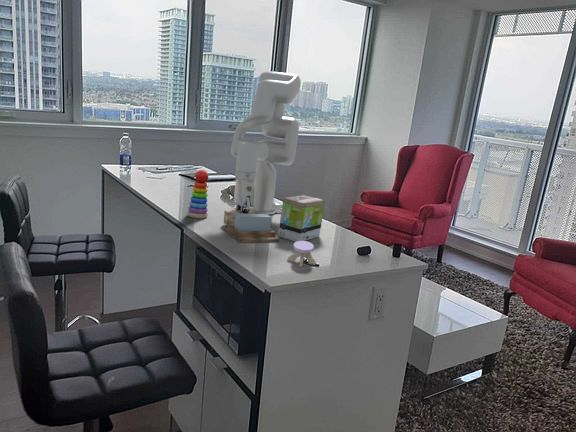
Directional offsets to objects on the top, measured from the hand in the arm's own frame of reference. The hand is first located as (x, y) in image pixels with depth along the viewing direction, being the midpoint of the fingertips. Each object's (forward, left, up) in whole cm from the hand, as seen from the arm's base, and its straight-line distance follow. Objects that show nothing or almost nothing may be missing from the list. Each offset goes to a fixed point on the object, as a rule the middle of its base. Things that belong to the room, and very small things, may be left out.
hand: (240, 222), depth 181 cm
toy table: (-5, +42, -2) cm, 42 cm away
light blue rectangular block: (0, +12, -1) cm, 13 cm away
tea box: (-18, +15, -2) cm, 23 cm away
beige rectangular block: (0, 0, -1) cm, 1 cm away
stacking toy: (+13, -14, -2) cm, 19 cm away
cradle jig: (0, +13, -2) cm, 13 cm away
